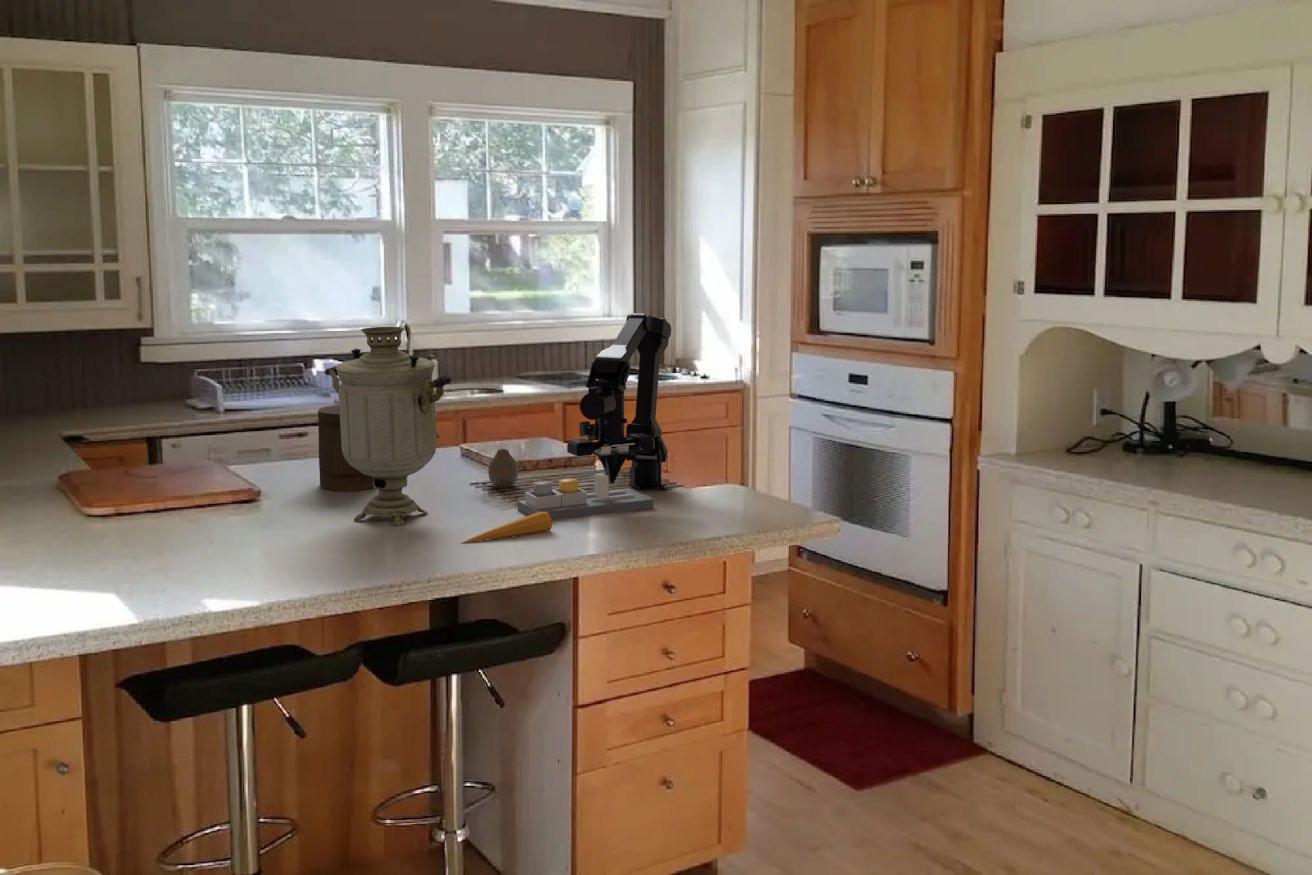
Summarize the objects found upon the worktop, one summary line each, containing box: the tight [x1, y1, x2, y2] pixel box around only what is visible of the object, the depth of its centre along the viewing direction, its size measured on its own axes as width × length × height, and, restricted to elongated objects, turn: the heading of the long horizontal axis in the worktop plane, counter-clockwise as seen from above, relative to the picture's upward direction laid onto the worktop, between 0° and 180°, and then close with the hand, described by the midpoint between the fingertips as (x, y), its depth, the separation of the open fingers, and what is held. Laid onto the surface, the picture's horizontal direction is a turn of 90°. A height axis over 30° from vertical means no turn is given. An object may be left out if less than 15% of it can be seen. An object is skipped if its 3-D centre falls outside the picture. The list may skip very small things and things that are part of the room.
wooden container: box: [317, 404, 376, 492], centre depth 293 cm, size 15×15×22 cm
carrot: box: [461, 512, 553, 544], centre depth 249 cm, size 20×4×4 cm, turn 122°
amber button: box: [558, 478, 579, 494], centre depth 270 cm, size 4×4×3 cm
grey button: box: [532, 480, 553, 497], centre depth 267 cm, size 4×4×3 cm
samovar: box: [323, 326, 452, 527], centre depth 262 cm, size 30×26×40 cm
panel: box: [517, 487, 655, 521], centre depth 272 cm, size 27×12×4 cm, turn 118°
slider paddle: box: [593, 472, 609, 498], centre depth 273 cm, size 2×3×5 cm, turn 27°
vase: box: [487, 448, 519, 489], centre depth 293 cm, size 7×7×9 cm
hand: (611, 483), depth 274 cm, fingers closed
